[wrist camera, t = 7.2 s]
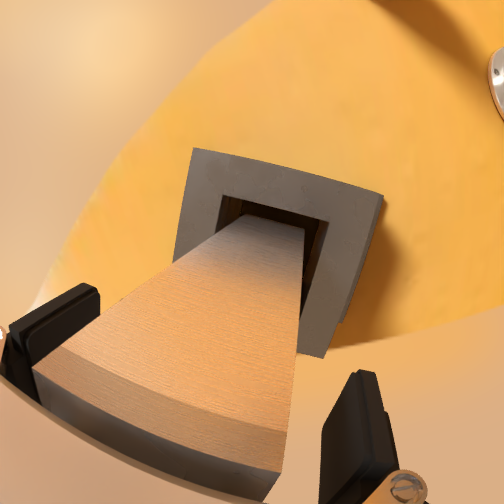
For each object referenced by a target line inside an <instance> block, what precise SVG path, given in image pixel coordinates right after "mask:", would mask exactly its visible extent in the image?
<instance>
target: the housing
mask: <svg viewBox="0 0 504 504" xmlns="http://www.w3.org/2000/svg"><path fill="white" fill-rule="evenodd" d="M383 197H384V195H381V194H379V193H376V192H373V191H370V190H367V189H363V188H360V187H357V186H354V185H350V184H347V183H343V182H340V181H336V180H333V179H329V178H326V177H322V176H319V175H315V174H311V173H307V172H303V171H300V170H296V169H292V168H288V167H284V166H280V165H275V164H271V163H267V162H263V161H258V160H254V159H249V158H245V157H240V156H235V155H230V154H225V153H220V152H215V151H210V150H205V149H199V148H194V147H193V152H192V156H191V161H190V166H189V171H188V176H187V181H186V186H185V191H184V196H183V202H182V207H181V213H180V219H179V224H178V230H177V236H176V243H175V249H174V256H173V262H172V263H174V262H175V261H177V260H178V259H180V258H181V257H183V256H184V255H185V254H187V253H188V252H190V251H191V250H193V249H194V248H196V247H197V246H198V245H200V244H201V243H203V242H204V241H206V240H207V239H209V238H210V237H212V236H213V235H215V234H216V233H218V232H219V231H221V230H222V229H224V228H225V227H227V226H228V225H229V224H231V223H232V222H234V221H235V220H237V219H238V218H240V213H241V209H242V205H243V200H248V201H252V202H256V203H260V204H264V205H268V206H271V207H275V208H279V209H283V210H287V211H291V212H294V213H298V214H302V215H306V216H309V217H313V218H317V219H320V222H319V226H318V229H317V233H316V236H315V240H314V243H313V247H312V251H311V254H310V257H309V261H308V264H307V268H306V271H305V274H304V278H303V281H302V284H301V299H300V312H299V325H298V336H297V348H296V352H298V353H302V354H306V355H310V356H314V357H318V358H322V359H323V358H324V356H325V354H326V351H327V349H328V346H329V344H330V341H331V339H332V337H333V334H334V331H335V329H336V326H337V324H338V322H339V323H342V322H343V320H344V317H345V314H346V312H347V309H348V306H349V304H350V301H351V298H352V296H353V293H354V290H355V287H356V284H357V282H358V279H359V276H360V273H361V270H362V267H363V264H364V261H365V258H366V255H367V252H368V249H369V245H370V242H371V239H372V236H373V232H374V229H375V226H376V222H377V219H378V215H379V212H380V208H381V205H382V201H383Z"/></svg>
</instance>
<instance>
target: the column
mask: <svg viewBox="0 0 504 504" xmlns="http://www.w3.org/2000/svg"><path fill="white" fill-rule="evenodd" d="M304 230H305V229H302V228H299V227H295V226H291V225H287V224H284V223H280V222H276V221H272V220H268V219H264V218H261V217H257V216H253V215H249V214H244V215H243V216H241V217H240V218H238V219H237V220H235V221H234V222H232V223H231V224H229V225H228V226H227V227H225V228H224V229H222V230H221V231H219V232H218V233H216V234H215V235H213V236H212V237H210V238H209V239H207V240H206V241H204V242H203V243H201V244H200V245H198V246H197V247H196V248H194V249H193V250H191V251H190V252H188V253H187V254H185V255H184V256H183V257H181V258H180V259H178V260H177V261H175V262H174V263H172V264H171V265H170V266H168V267H167V268H165V269H164V270H162V271H161V272H160V273H158V274H157V275H155V276H154V277H153V278H151V279H150V280H148V281H147V282H146V283H144V284H143V285H141V286H140V287H139V288H137V289H136V290H134V291H133V292H132V293H130V294H129V295H127V296H126V297H125V298H123V299H122V300H120V301H119V302H118V303H116V304H115V305H114V306H112V307H111V308H110V309H108V310H107V311H105V312H104V313H103V314H101V315H100V316H99V317H97V318H96V319H95V320H93V321H92V322H91V323H89V324H88V325H87V326H85V327H84V328H83V329H81V330H80V331H79V332H77V333H76V334H75V335H73V336H72V337H71V338H69V339H68V340H67V341H65V342H64V343H63V344H61V345H60V346H59V347H58V348H56V349H55V350H54V351H52V352H51V353H50V354H48V355H47V356H46V357H45V358H43V359H42V360H41V361H39V362H38V363H37V364H36V365H34V366H33V367H32V370H33V374H34V378H35V382H36V386H37V390H38V393H39V397H40V400H41V403H42V407H44V408H45V409H47V410H48V411H50V412H51V413H53V414H54V415H56V416H57V417H59V418H60V419H62V420H63V421H65V422H67V423H68V424H70V425H71V426H73V427H75V428H76V429H78V430H80V431H81V432H83V433H85V434H86V435H88V436H90V437H92V438H93V439H95V440H97V441H99V442H101V443H103V444H104V445H106V446H108V447H110V448H112V449H114V450H116V451H118V452H120V453H122V454H124V455H126V456H128V457H130V458H132V459H135V460H137V461H139V462H141V463H143V464H146V465H148V466H150V467H153V468H155V469H157V470H160V471H162V472H165V473H167V474H170V475H172V476H175V477H178V478H180V479H183V480H186V481H189V482H191V483H194V484H197V485H200V486H203V487H206V488H210V489H213V490H216V491H219V492H223V493H226V494H230V495H234V496H237V497H241V498H245V499H249V500H254V501H258V502H263V500H264V499H265V497H266V496H267V494H268V493H269V491H270V490H271V488H272V487H273V485H274V484H275V482H276V481H277V479H278V477H279V476H280V474H281V472H282V464H283V458H284V451H285V444H286V437H287V429H288V420H289V413H290V405H291V396H292V386H293V378H294V368H295V358H296V348H297V336H298V325H299V312H300V299H301V284H302V269H303V251H304Z"/></svg>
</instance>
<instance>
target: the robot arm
mask: <svg viewBox="0 0 504 504" xmlns="http://www.w3.org/2000/svg"><path fill="white" fill-rule="evenodd" d="M488 80H489V86H490V90H491V94H492V97H493V100H494V102H495V105H496V107H497V109H498V111H499V113H500V115H501V116H502V118H503V120H504V47H502V48H500V49H498V50H497V51H496V52H494V53H493V55H492V57H491V58H490V61H489V65H488ZM99 316H100V294H99V293H98V290H97V288H96V287H93V286H91V285H89V284H86V283H81V284H79V285H77V286H76V287H74V288H72V289H70V290H68V291H67V292H65V293H63V294H61V295H59V296H58V297H56V298H54V299H52V300H51V301H49V302H47V303H45V304H44V305H42V306H40V307H39V308H37V309H35V310H33V311H32V312H30V313H28V314H27V315H25V316H23V317H22V318H20V319H18V320H17V321H15V322H13V323H12V324H10V325H9V330H10V332H9V333H8V334H6V331H5V329H4V328H3V327H2V326H0V504H267V503H262V502H258V501H254V500H249V499H245V498H241V497H237V496H234V495H230V494H226V493H223V492H219V491H216V490H213V489H210V488H206V487H203V486H200V485H197V484H194V483H191V482H189V481H186V480H183V479H180V478H178V477H175V476H172V475H170V474H167V473H165V472H162V471H160V470H157V469H155V468H153V467H150V466H148V465H146V464H143V463H141V462H139V461H137V460H135V459H132V458H130V457H128V456H126V455H124V454H122V453H120V452H118V451H116V450H114V449H112V448H110V447H108V446H106V445H104V444H103V443H101V442H99V441H97V440H95V439H93V438H92V437H90V436H88V435H86V434H85V433H83V432H81V431H80V430H78V429H76V428H75V427H73V426H71V425H70V424H68V423H67V422H65V421H63V420H62V419H60V418H59V417H57V416H56V415H54V414H53V413H51V412H50V411H48V410H47V409H45V408H44V407H42V403H41V400H40V397H39V393H38V390H37V386H36V382H35V378H34V374H33V370H32V367H33V366H34V365H36V364H37V363H38V362H39V361H41V360H42V359H43V358H45V357H46V356H47V355H48V354H50V353H51V352H52V351H54V350H55V349H56V348H58V347H59V346H60V345H61V344H63V343H64V342H65V341H67V340H68V339H69V338H71V337H72V336H73V335H75V334H76V333H77V332H79V331H80V330H81V329H83V328H84V327H85V326H87V325H88V324H89V323H91V322H92V321H93V320H95V319H96V318H97V317H99ZM321 436H322V437H321V465H320V485H319V501H318V504H429V503H427V502H426V501H425V499H426V497H427V486H426V483H425V482H424V480H423V479H422V478H421V477H420V476H419V475H418V474H416V473H414V472H412V471H408V470H400V468H399V463H398V458H397V452H396V448H395V442H394V437H393V433H392V428H391V423H390V419H389V415H388V413H387V412H385V411H384V407H383V403H382V398H381V394H380V390H379V386H378V381H377V378H376V374H375V373H374V372H371V371H365V370H361V369H359V370H358V371H357V372H356V373H354V372H352V373H351V375H350V377H349V379H348V381H347V382H346V384H345V386H344V388H343V390H342V392H341V394H340V396H339V398H338V400H337V401H336V403H335V405H334V407H333V409H332V411H331V412H330V414H329V416H328V418H327V420H326V421H325V423H324V425H323V428H322V435H321Z"/></svg>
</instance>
